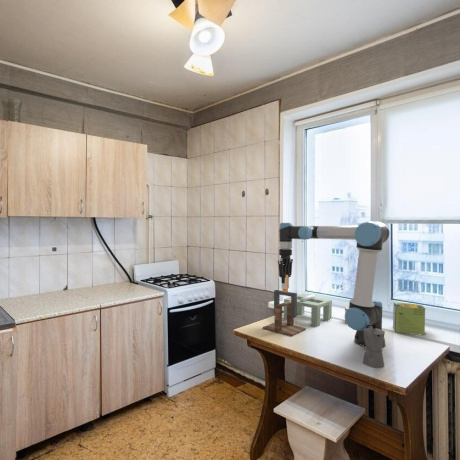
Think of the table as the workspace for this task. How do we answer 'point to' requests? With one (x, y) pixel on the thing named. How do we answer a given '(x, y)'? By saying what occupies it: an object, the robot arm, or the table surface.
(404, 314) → the protein box
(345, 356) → the table surface
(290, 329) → the walnut rack
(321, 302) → the pale green table
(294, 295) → the dark grey arch
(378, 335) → the coffeepot
